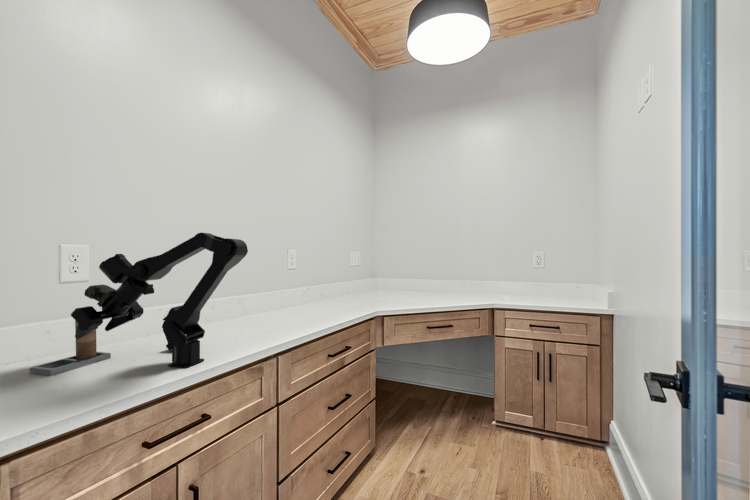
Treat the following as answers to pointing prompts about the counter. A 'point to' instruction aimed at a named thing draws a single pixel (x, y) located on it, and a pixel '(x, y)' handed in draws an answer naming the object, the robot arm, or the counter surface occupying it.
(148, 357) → the counter surface
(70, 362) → the grey divided tray
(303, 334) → the counter surface
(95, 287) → the robot arm
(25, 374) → the counter surface
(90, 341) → the post
